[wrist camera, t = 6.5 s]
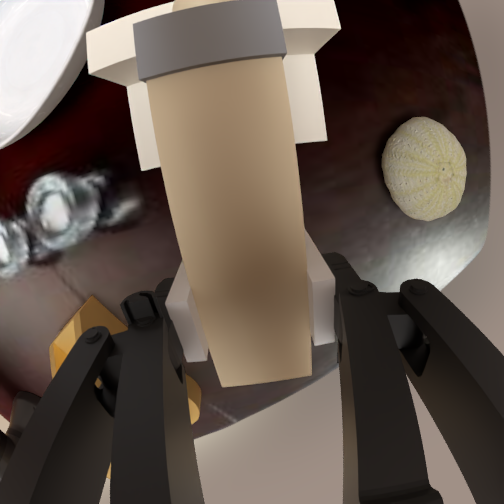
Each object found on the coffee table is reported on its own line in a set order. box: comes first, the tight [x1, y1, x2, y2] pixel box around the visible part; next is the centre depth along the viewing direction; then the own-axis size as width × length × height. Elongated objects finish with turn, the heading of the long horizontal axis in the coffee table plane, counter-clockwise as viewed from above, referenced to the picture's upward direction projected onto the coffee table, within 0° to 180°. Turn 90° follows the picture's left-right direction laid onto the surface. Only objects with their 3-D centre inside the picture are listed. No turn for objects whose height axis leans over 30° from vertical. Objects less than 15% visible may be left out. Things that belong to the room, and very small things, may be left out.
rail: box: [133, 0, 312, 387], centre depth 11 cm, size 4×14×6 cm, turn 8°
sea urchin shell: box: [382, 117, 467, 221], centre depth 21 cm, size 9×8×8 cm
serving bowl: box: [0, 0, 105, 149], centre depth 14 cm, size 21×21×7 cm
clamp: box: [49, 295, 201, 479], centre depth 25 cm, size 20×9×16 cm, turn 39°
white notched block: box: [86, 0, 341, 171], centre depth 14 cm, size 11×8×14 cm
